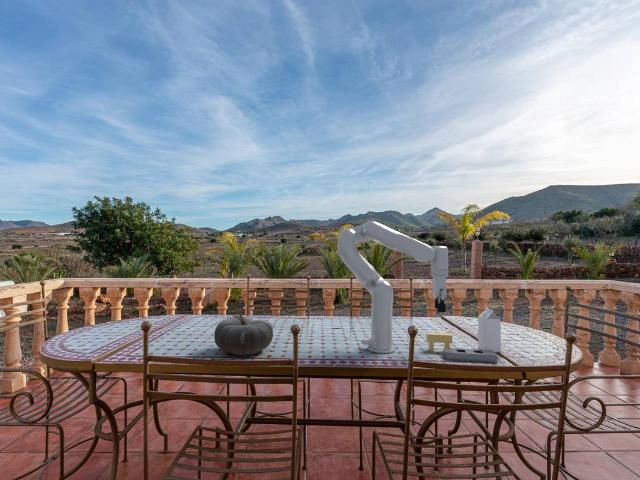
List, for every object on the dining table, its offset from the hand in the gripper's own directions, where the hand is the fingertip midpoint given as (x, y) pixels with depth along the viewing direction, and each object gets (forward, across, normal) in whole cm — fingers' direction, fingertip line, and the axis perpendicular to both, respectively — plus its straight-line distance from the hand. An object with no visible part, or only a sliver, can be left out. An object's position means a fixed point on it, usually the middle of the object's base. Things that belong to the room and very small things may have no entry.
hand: (440, 310), depth 168 cm
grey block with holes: (+18, +10, +10) cm, 23 cm away
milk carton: (+19, -5, +22) cm, 30 cm away
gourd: (+17, +19, -87) cm, 90 cm away
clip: (+18, 0, -1) cm, 18 cm away
